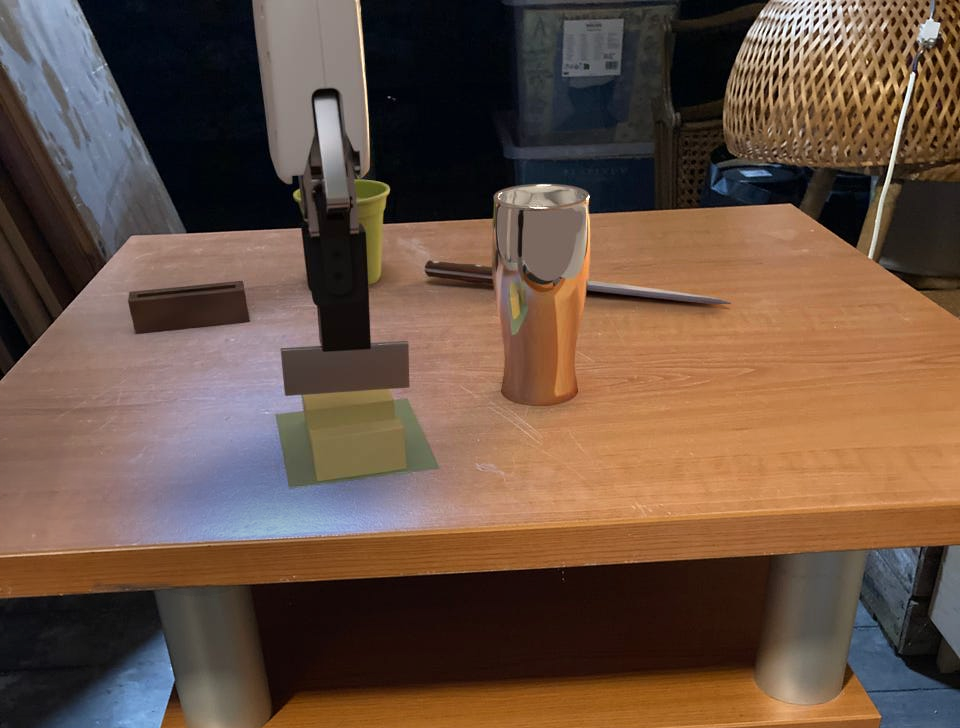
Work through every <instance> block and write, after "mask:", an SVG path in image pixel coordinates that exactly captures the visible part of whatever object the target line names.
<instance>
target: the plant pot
mask: <svg viewBox="0 0 960 728" xmlns="http://www.w3.org/2000/svg"><path fill="white" fill-rule="evenodd" d="M355 188H356V200H357V212H358V223H362V225H363V227H364V229H365V231H366V241H367V264H368V286H369V285H373V284H375V283H376V282H378V281H379V279H380V277H381V276H382V259H383V258H382V257H383V226H384V211H385V209H386V205H387V197H388V196H389V194H390V191H391V188H390V186H389V185H388V184H387V183H384V182H381V181H376V180H371V179H370V180H368V179H358V178H357V179H356V178H355ZM292 196H293V199H294V201H295V202H297V203H298V205H299V209H300V212H301V214H302V215H303V212H302V204H301V195H300V188H298V189H297V190H295V191H294V192H293V194H292ZM305 222H308V221H305Z"/></svg>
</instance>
